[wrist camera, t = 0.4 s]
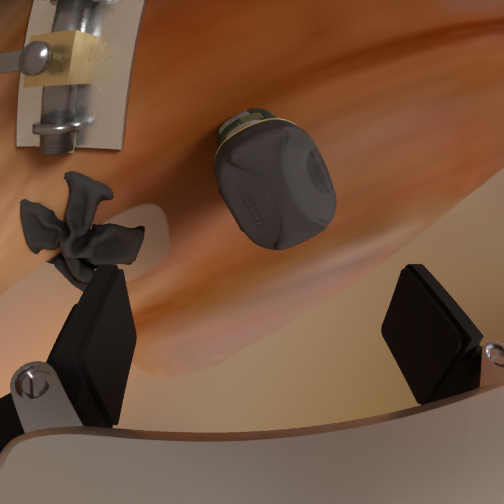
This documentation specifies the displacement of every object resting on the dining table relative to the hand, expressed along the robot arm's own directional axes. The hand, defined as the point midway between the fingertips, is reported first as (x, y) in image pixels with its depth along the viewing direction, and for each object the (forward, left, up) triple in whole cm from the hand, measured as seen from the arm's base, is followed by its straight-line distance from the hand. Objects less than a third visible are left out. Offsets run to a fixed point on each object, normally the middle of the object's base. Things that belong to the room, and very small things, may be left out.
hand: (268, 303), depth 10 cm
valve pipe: (-9, -21, -30) cm, 38 cm away
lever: (-9, -27, -23) cm, 36 cm away
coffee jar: (0, +3, -31) cm, 31 cm away
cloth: (+16, -19, -31) cm, 40 cm away
